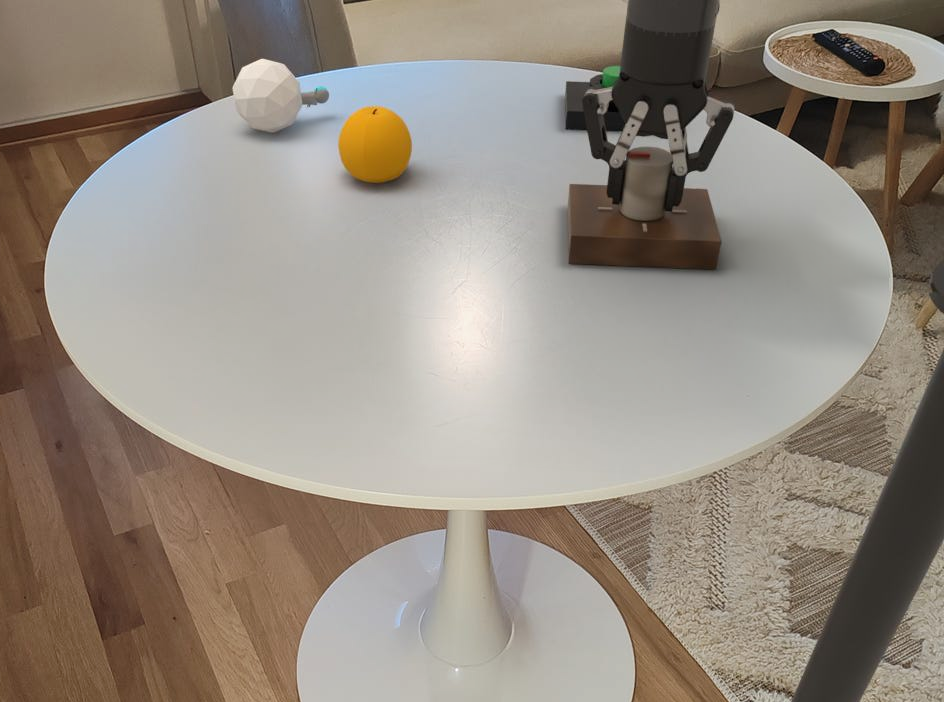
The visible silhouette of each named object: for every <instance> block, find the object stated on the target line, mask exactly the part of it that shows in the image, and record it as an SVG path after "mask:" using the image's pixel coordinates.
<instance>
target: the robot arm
mask: <svg viewBox="0 0 944 702" xmlns="http://www.w3.org/2000/svg"><path fill="white" fill-rule="evenodd" d="M720 1H721V0H627V7H626V15H625V23H624V31H623V40H622V49H621V57H620V65H619V66H620V73H619V77H618V79H617V80H616V82H615V83H614V86H613V87H608V88H603V89H598V88H597V87H595V86H591V87H589V88H588V89H587V91H586V93H585V95H584V97H583V100H582V105H583V110H584V116H585V121H586V127H587V130H586V131H587V138H588V142H589V143H588V144H589V147H590V154H591V156H592V158H593V159H595V160H602V161H604V162H605V163H606V164H607V165H608V175H607V182H606V183H607V192H606V193H607V196H608V198H613V199H612V204H615V205H619V204H620V201H621V193H622V185H623V177H624V170H625V162H626V155H627V153H628V151H629V150H631V147H632V146H633V143H634V140H635V138H636V137H644V138H645V137H650V136H654V137H656V138H659V139H661V140H667V141H668V147H669V152H670V153H671V154H672V160H673V166H672V172H671V176H670V182H669V188H668V194H667V200H666V206H665V211H669V212H672V209H673V206H677V207H678V206H679V205H680V203H681V201H682V196H683V190H684V188H685V183H686V178H687V176H688V174H690V173H692V172H699V173H704V172H706V171H707V169H709V166H710V164H711V162H712V160H713V158H714V156H715V154H716V152H717V151H718V149H719V147H720V145H721V143H722V141H723V139H724V137H725V135H726V133H727V131H728V130H729V127H730V125H731V123H732V121H733V119H734V115H735V106H736V105H735V103H734V102H733V101H732V100H724V101H721V100H718V99H716V98H713V97H711V96H709V92H708V89H707V84H706V79H707V73H708V68H709V62H710V58H711V57H710V56H711V51H712V45H713V39H714V34H715V28H716V24H717V23H716V22H717V17H718V14H719V12H720V3H721V2H720ZM611 100H613V101H614V103H615V105H616V107H617V108H618V110H619V112H620V114H621V116H622V117H623V119H624V121H625V123H626V124H625V126H624V128H623V131H621V133H620V135H619V138H618V139H617V142H616V144H613V143H612V142H610V141H609V140H608V134H607V130H606V128H605V122H604V116H603V114H605V113H606V111H607V109H608V106H609V102H610V101H611ZM702 111H705V113H706V121H705V122H706V125H707V126H708V127H709V129H708V131H707V133H706V135H705V136H704V139H703V140H702V143H701V145H700V147H699V149H698V151H695V152H691V153H690V151H689V144H688V133H687V127H688V125H690V124H691V123H692V122H693V121H694V120H695V119H696V117H697V116H698V115H699V114H701V112H702Z"/></svg>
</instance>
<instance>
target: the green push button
mask: <svg viewBox="0 0 944 702" xmlns="http://www.w3.org/2000/svg"><path fill="white" fill-rule="evenodd" d="M619 73H620V65H611V66H606V67H604V68H603V70H602V74H603V78H602V85H603V86H605V87H613V86H614V83H615V82H616V80H617V79H618V77H619Z"/></svg>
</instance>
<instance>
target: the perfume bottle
mask: <svg viewBox="0 0 944 702" xmlns="http://www.w3.org/2000/svg"><path fill="white" fill-rule="evenodd" d="M233 83H234V84H233V86H232V94H233V100H234V105H235V106H234V107H235V111H236V113H238V115H239V116H240V117H241V118H242V119H243V120H244V121H245V122H246V124H248V125H249V127H250V128H251V129H254V130H258V131H263V132H267V133H270V134H275V133H277V132H279V131H281V130H284V129H286V128H288V127H290V126H292V125H294V122H295V121H296V118H297V117H298V114H299V113H300V111H301V109H302V107H303V106H305V105H306V109H308V108H311V106H317V105H318V104H320V105H321V104H322V105H323V104H325V103H327V102H328V100H329V98H330V92H329V91H328V89H327V87H325V86H321V85H320V86H317V87H315V89H314V90H313V91H307V92H302V91H301V84H300V81H299V80H298V79H297V78H296V77H295V74H293V73H292V71H290V69H289V68H288V67H287V66H286V65H285V64H284V63H281V62H277V61H275V60H269V59H266V58H260V59H257V60H256V61H253V62H252V63H248V64H246V65H244V66H242V67H241V69H240V71H239V73H238V75H237V77H236V79H235V81H234V82H233Z"/></svg>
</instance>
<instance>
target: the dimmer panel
mask: <svg viewBox="0 0 944 702" xmlns="http://www.w3.org/2000/svg"><path fill="white" fill-rule="evenodd" d="M606 192H607V185H606V184H588V183H587V184H583V183H569V186H568V197H567V210H566V213H567V214H566V215H567V217H566V219H567V256H568V257H567V262H568V264H570V265H571V264H572V265H573V264H574V265H596V266H597V265H600V266H618V267H619V266H621V267H641V268H642V267H644V268H645V267H646V268H667V269H668V268H670V269H689V270H690V269H693V270H712V271H713V270H716V269H717V265H718V261H719V256H720V251H721V246H722V237H721V235H720V231H719V227H718V223H717V219H716V215H715V212H714V208H713V204H712V202H711V198H710V194H709V191H708V189H707V188H691V187H690V188H689V187H684V190H683V196H682V201H681V203H680V205H679V206H678V207H677V206H673V209H672V212H669V211H665V214H664V215H663V216H662V217H661V218H659V219H656V220H651V221H640V220H634V219H631V218H628V217H626V216H624V215H623V214H622V213H621V212H620V204H619V205H615V204H612V199H613V198H608V196H607V193H606Z"/></svg>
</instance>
